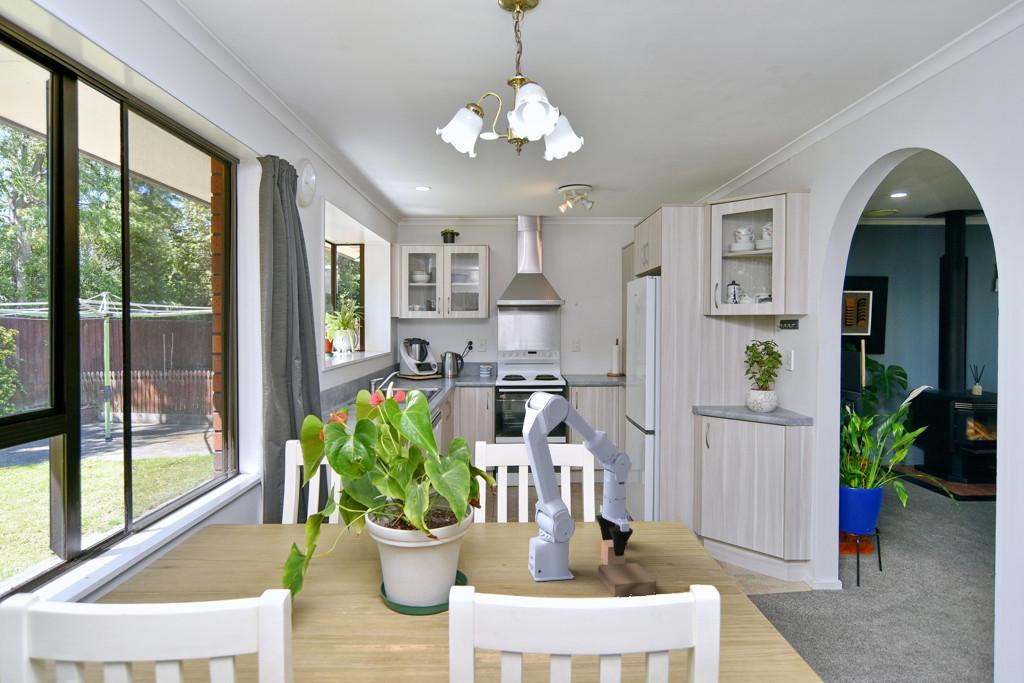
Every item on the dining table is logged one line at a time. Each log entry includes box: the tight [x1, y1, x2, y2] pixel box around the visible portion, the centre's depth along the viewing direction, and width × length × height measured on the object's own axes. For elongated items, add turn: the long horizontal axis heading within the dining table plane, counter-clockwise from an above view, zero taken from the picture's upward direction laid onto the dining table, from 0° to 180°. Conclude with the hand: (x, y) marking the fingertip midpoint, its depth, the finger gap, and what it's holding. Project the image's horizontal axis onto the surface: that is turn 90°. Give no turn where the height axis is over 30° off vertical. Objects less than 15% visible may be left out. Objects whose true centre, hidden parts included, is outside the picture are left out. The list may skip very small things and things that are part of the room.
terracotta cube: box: [600, 539, 626, 565], centre depth 140 cm, size 4×4×5 cm
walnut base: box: [597, 562, 657, 598], centre depth 127 cm, size 10×10×3 cm
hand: (613, 549), depth 140 cm, fingers open, 7 cm apart
